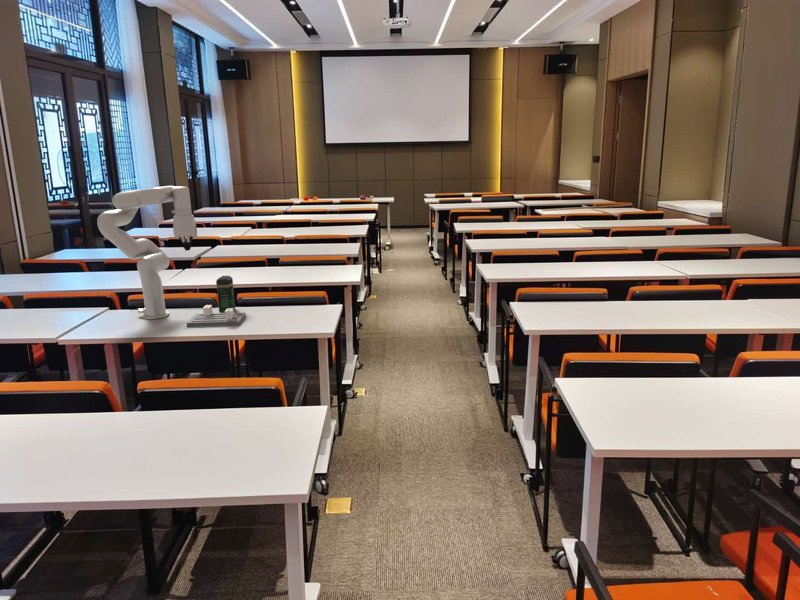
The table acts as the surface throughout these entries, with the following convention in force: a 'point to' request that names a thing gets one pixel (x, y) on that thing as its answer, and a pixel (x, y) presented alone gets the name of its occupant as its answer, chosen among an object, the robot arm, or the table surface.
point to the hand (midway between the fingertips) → (187, 250)
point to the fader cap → (229, 313)
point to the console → (214, 319)
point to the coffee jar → (225, 293)
